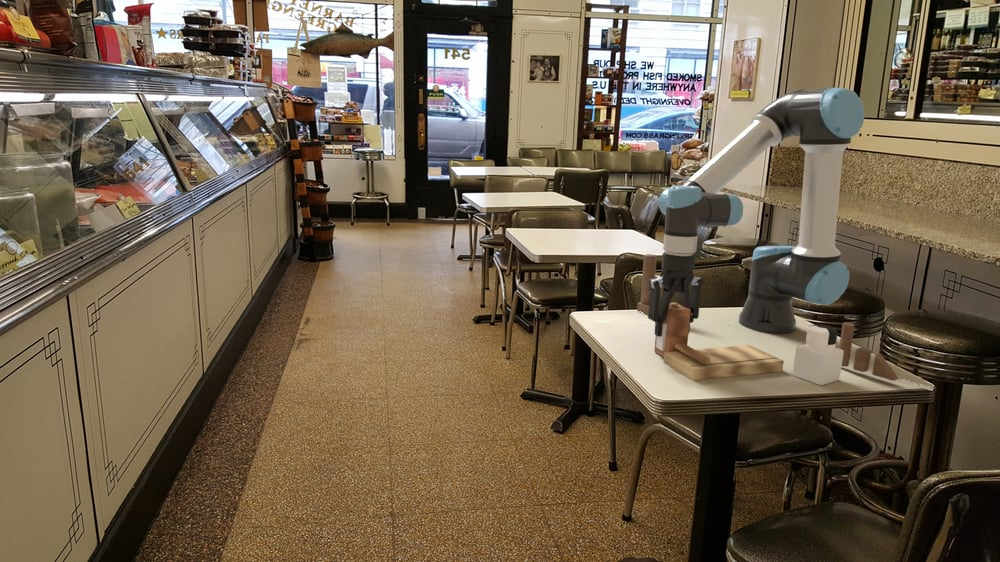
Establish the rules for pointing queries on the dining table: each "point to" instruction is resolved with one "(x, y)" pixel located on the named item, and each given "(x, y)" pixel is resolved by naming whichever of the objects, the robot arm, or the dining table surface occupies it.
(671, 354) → the board
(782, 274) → the robot arm
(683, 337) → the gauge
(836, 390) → the dining table surface
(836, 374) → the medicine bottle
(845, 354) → the wood blocks
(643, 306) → the wooden post assembly
